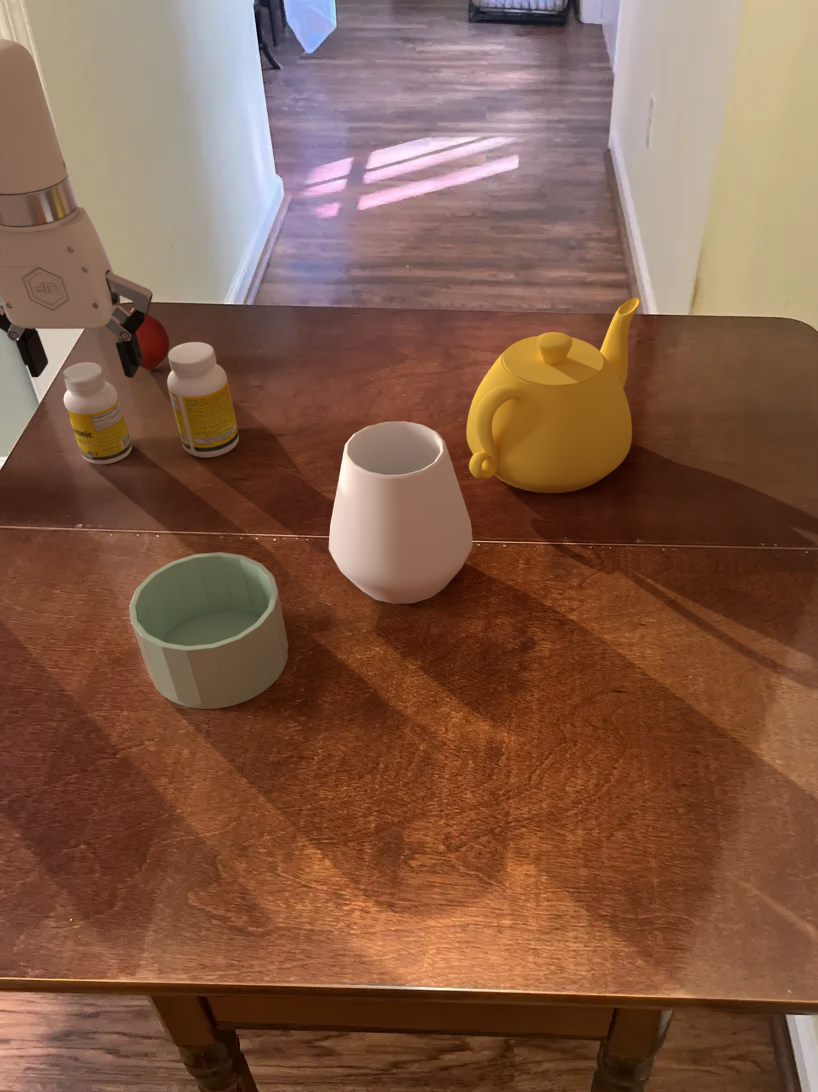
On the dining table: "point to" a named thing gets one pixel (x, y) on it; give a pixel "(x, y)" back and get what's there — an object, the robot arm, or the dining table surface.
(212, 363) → the pill bottle
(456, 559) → the cup
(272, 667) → the bowl
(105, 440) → the supplement bottle
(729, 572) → the dining table surface
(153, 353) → the onion
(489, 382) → the teapot
